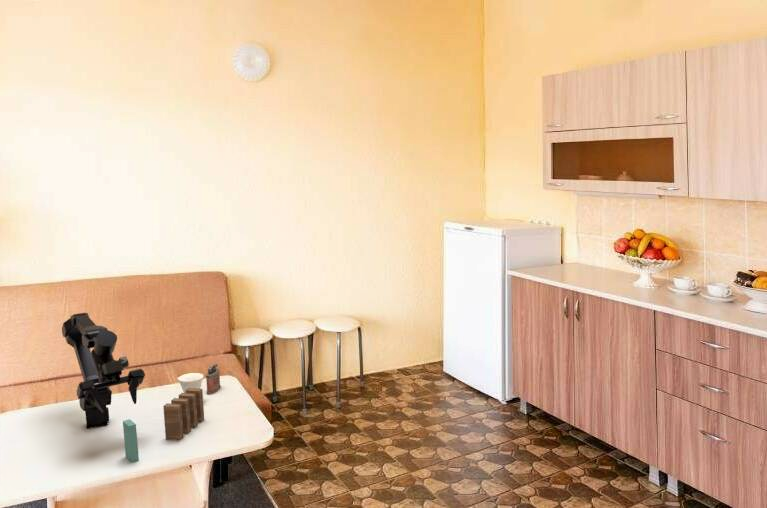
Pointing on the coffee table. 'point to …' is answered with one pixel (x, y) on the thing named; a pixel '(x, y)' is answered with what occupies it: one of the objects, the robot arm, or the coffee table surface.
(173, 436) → the tile
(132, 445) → the tile
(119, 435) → the coffee table surface
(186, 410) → the brown wooden block
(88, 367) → the robot arm
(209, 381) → the lighter
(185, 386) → the cup
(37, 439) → the coffee table surface
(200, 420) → the tile
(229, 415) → the coffee table surface
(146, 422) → the coffee table surface
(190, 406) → the brown wooden plank
